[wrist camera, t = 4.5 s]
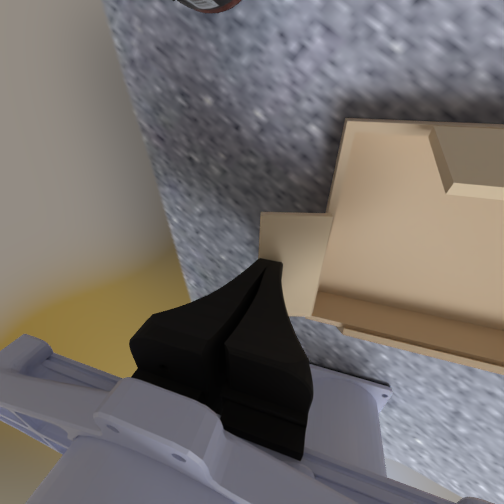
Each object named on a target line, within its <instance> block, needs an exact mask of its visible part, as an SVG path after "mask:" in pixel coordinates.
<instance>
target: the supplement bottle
mask: <svg viewBox="0 0 504 504" xmlns="http://www.w3.org/2000/svg"><path fill="white" fill-rule="evenodd" d="M173 1H175V0H173ZM177 1H179V2H180V3H182V4H184V5H185V6H187V7H189V8H191V9H194V10H196V11H199V12H203V13H219V12H223V11H226V10H229V9H231V8H233V7H234V6H235V5H237V4H238V3H239V2H240V1H241V0H177Z"/></svg>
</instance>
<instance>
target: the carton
mask: <svg viewBox="0 0 504 504" xmlns="http://www.w3.org/2000/svg"><path fill="white" fill-rule="evenodd" d="M433 126H446V127H468V128H490V129H504V124H486V123H462V122H437V121H412V120H388V119H363V118H345V122H344V126H343V131H342V136H341V141H340V146H339V150H338V155H337V160H336V165H335V169H334V174H333V179H332V184H331V189H330V193H329V198H328V203H327V208H326V213H331V214H332V216H333V220H332V224H331V228H330V233H329V237H328V241H327V246H326V250H325V254H324V259H323V263H322V267H321V272H320V276H319V280H318V285H317V289H316V293H315V298H314V302H313V306H312V311H311V315H310V317H305V318H306V319H310V320H314V321H318V322H322V323H326V324H330V325H334V326H336V327H337V328H338V329H339V331H340V332H341V333H342V334H343V335H346V336H350V337H354V338H358V339H362V340H366V341H370V342H374V343H378V344H382V345H386V346H390V347H394V348H398V349H402V350H406V351H410V352H414V353H418V354H422V355H426V356H430V357H434V358H438V359H442V360H446V361H450V362H454V363H458V364H462V365H466V366H470V367H474V368H478V369H482V370H486V371H490V372H494V373H498V374H502V375H504V200H495V199H486V198H476V197H466V196H457V195H447V194H445V190H444V187H443V184H442V181H441V177H440V174H439V171H438V168H437V164H436V161H435V158H434V155H433V151H432V148H431V145H430V142H429V138H428V136H429V134H430V132H431V130H432V128H433Z"/></svg>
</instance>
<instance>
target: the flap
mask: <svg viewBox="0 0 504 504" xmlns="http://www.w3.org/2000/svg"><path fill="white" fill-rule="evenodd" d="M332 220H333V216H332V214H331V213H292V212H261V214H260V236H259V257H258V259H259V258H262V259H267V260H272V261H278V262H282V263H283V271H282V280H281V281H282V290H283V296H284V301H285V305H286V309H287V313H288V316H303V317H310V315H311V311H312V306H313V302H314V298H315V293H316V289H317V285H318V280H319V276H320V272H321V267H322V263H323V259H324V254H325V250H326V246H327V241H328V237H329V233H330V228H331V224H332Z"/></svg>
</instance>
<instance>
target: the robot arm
mask: <svg viewBox="0 0 504 504" xmlns="http://www.w3.org/2000/svg"><path fill="white" fill-rule="evenodd" d="M282 271H283V263H282V262H278V261H272V260H267V259H262V258H259V259H258V260H257V261H256V262H254V263H253V264H252V265H251V266H250V267H249V268H247V269H246V270H245V271H244V272H242V273H241V274H240V275H239V276H237V277H236V278H235V279H233V280H232V281H230V282H229V283H227V284H226V285H224V286H223V287H221V288H220V289H218V290H216V291H214V292H213V293H211V294H209V295H207V296H204V297H202V298H200V299H198V300H196V301H193V302H191V303H188V304H186V305H183V306H180V307H177V308H174V309H170V310H167V311H163V312H160V313H156V314H153V315H152V316H151V317H150V318H149V319H148V320H147V321H146V322H145V323H144V324H143V325H142V327H141V328H140V329H139V330H138V331H137V332H136V334H135V335H134V336H133V337H132V338H131V339H130V343H129V345H130V350H131V353H132V355H133V358H134V360H135V362H136V365H137V367H138V369H137V370H136V371H135V373H134V374H133V375H132V377H131V378H130V377H127V378H124V379H122V378H120V377H117V376H114V375H111V374H109V373H106V372H104V371H101V370H98V369H96V368H93V367H90V366H88V365H85V364H82V363H80V362H77V361H74V360H72V359H69V358H66V357H64V356H61V355H58V354H55V353H53V350H52V349H51V347H50V346H49V345H48V344H47V343H46V342H45V341H43V340H41V339H38V338H36V337H33V336H30V335H27V334H23V335H22V336H20V337H19V338H18V339H16V340H15V341H14V342H12V343H11V344H9V345H8V346H7V347H5V348H4V349H2V350H1V351H0V420H1V421H3V422H5V423H7V424H9V425H10V426H12V427H14V428H16V429H18V430H20V431H22V432H24V433H25V434H27V435H29V436H31V437H32V438H34V439H36V440H38V441H40V442H41V443H43V444H45V445H47V446H48V447H50V448H52V449H54V450H55V451H57V452H59V453H61V454H62V455H63V456H62V457H61V458H60V460H59V461H58V462H57V463H56V465H55V466H54V467H53V469H52V470H51V471H50V472H49V474H48V475H47V476H46V477H45V479H44V480H43V481H42V483H41V484H40V485H39V486H38V488H37V489H36V490H35V491H34V493H33V494H32V495H31V497H30V498H29V499H28V501H27V502H26V503H25V504H456V503H454V502H451V501H448V500H446V499H443V498H440V497H438V496H435V495H432V494H430V493H427V492H424V491H421V490H419V489H416V488H414V487H411V486H408V485H406V484H403V483H400V482H398V481H395V480H392V479H389V478H387V475H386V467H385V461H384V452H383V445H382V437H381V430H380V422H379V413H380V412H381V410H382V409H383V407H384V406H385V404H386V403H387V401H388V400H389V399H390V397H391V396H392V394H393V393H392V389H391V388H390V387H388V386H385V385H381V384H378V383H374V382H371V381H367V380H364V379H360V378H357V377H353V376H350V375H347V374H343V373H340V372H336V371H333V370H329V369H326V368H322V367H319V366H315V365H312V364H309V360H308V357H307V356H306V354H305V352H304V350H303V348H302V346H301V345H300V343H299V340H298V338H297V336H296V334H295V331H294V329H293V327H292V324H291V322H290V319H289V316H288V313H287V309H286V305H285V301H284V296H283V290H282V281H281V280H282ZM457 504H494V503H491V502H488V501H485V500H482V499H479V498H474V497H465V498H462V499H461V500H460V501H458V503H457Z"/></svg>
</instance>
